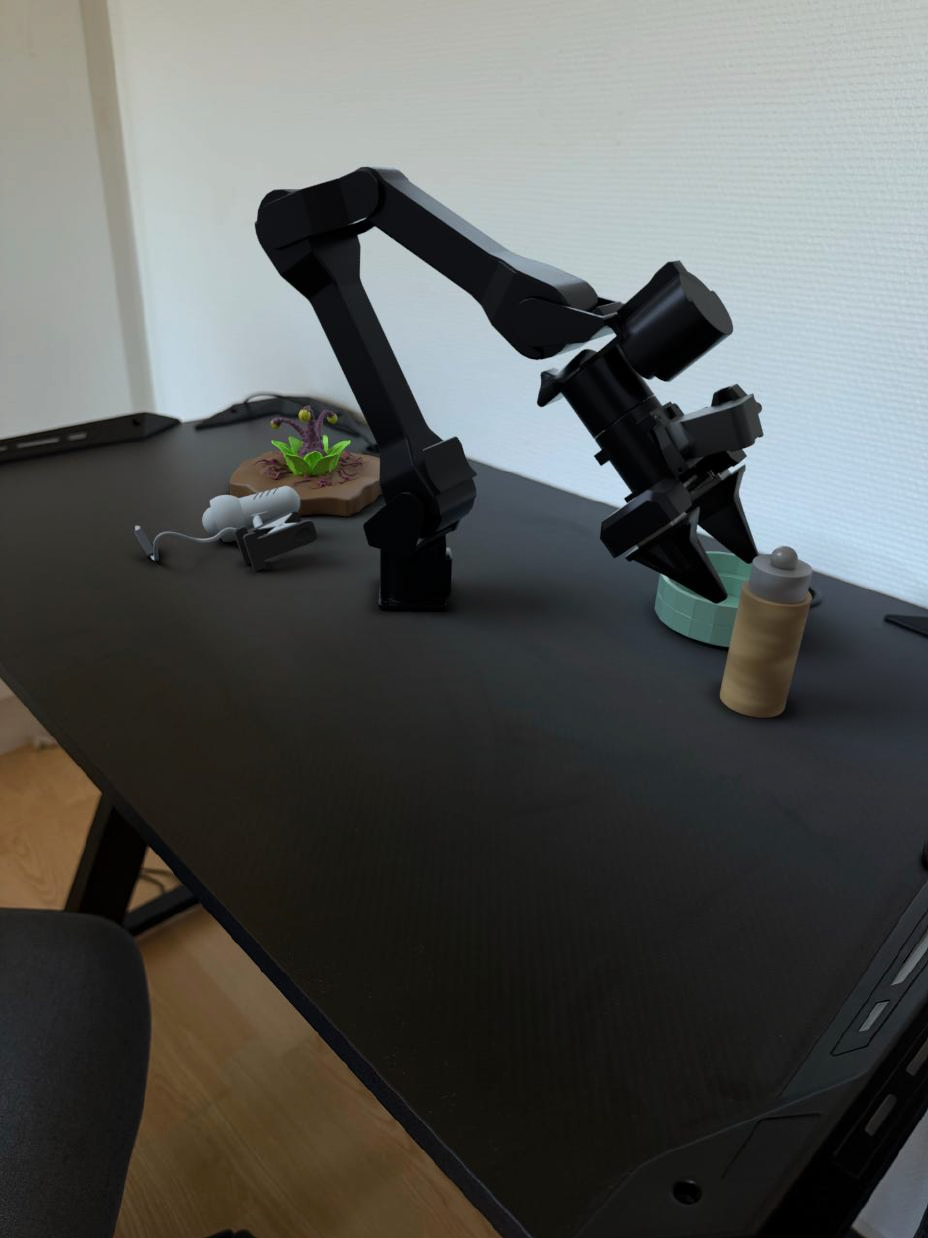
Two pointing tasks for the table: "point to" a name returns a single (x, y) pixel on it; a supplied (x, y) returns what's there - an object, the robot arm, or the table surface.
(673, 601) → the green shallow bowl
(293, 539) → the clip-on lamp
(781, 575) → the pepper mill
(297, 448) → the plant
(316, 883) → the table surface
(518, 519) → the table surface
